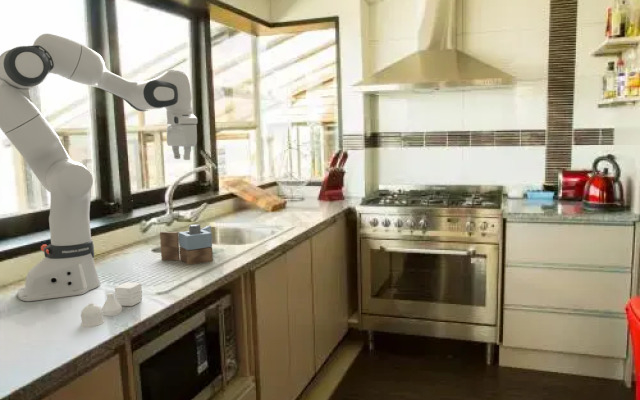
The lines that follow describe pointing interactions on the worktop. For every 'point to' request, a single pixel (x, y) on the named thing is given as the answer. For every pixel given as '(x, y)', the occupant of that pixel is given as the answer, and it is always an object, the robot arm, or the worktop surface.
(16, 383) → the worktop surface
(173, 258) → the hinge frame
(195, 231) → the dark grey tall bar
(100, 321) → the container set
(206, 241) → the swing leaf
